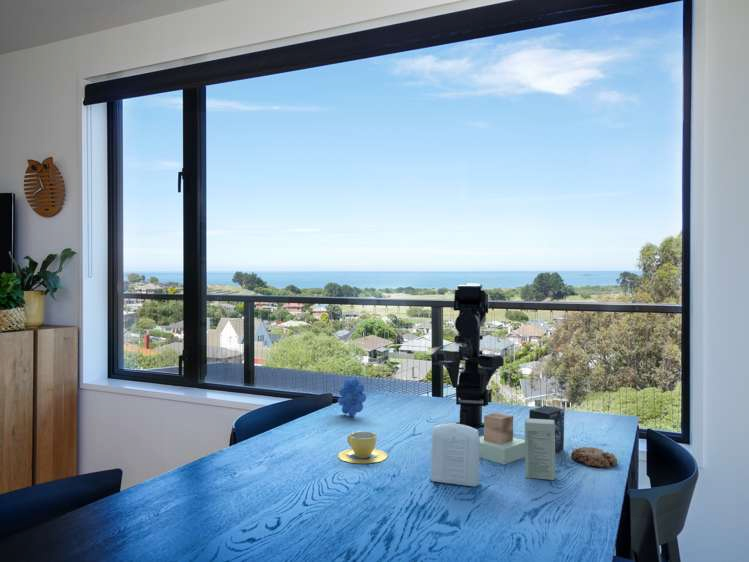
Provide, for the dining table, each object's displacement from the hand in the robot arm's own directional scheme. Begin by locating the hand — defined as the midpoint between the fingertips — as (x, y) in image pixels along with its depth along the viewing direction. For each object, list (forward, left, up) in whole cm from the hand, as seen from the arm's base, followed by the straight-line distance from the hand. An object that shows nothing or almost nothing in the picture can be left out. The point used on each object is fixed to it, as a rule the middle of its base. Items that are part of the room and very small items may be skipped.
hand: (468, 390), depth 161 cm
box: (-6, +20, -13) cm, 25 cm away
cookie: (-7, +32, -14) cm, 35 cm away
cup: (+31, -7, -14) cm, 35 cm away
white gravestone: (+29, +19, -13) cm, 37 cm away
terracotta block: (+6, +14, -9) cm, 18 cm away
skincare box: (+12, +29, -13) cm, 34 cm away
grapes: (+6, -39, -13) cm, 42 cm away
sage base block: (+6, +14, -14) cm, 20 cm away
